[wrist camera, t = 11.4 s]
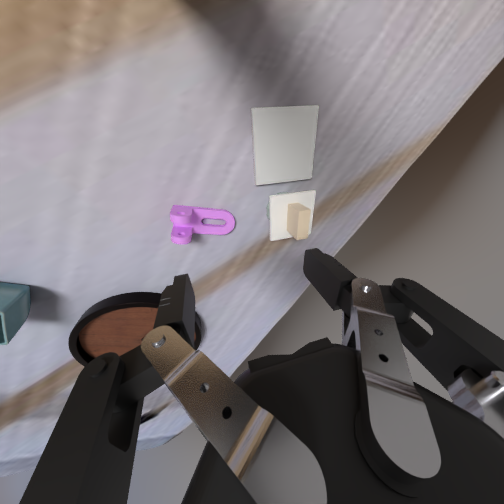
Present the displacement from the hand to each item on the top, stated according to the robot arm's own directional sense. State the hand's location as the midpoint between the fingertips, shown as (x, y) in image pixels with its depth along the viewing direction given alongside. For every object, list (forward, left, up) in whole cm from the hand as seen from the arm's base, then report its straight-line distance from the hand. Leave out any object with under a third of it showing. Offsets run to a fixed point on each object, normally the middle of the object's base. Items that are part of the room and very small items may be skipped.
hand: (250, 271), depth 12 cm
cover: (+7, +15, -25) cm, 30 cm away
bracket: (+7, -3, -30) cm, 31 cm away
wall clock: (+38, -27, -31) cm, 56 cm away
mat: (-6, +15, -30) cm, 34 cm away
